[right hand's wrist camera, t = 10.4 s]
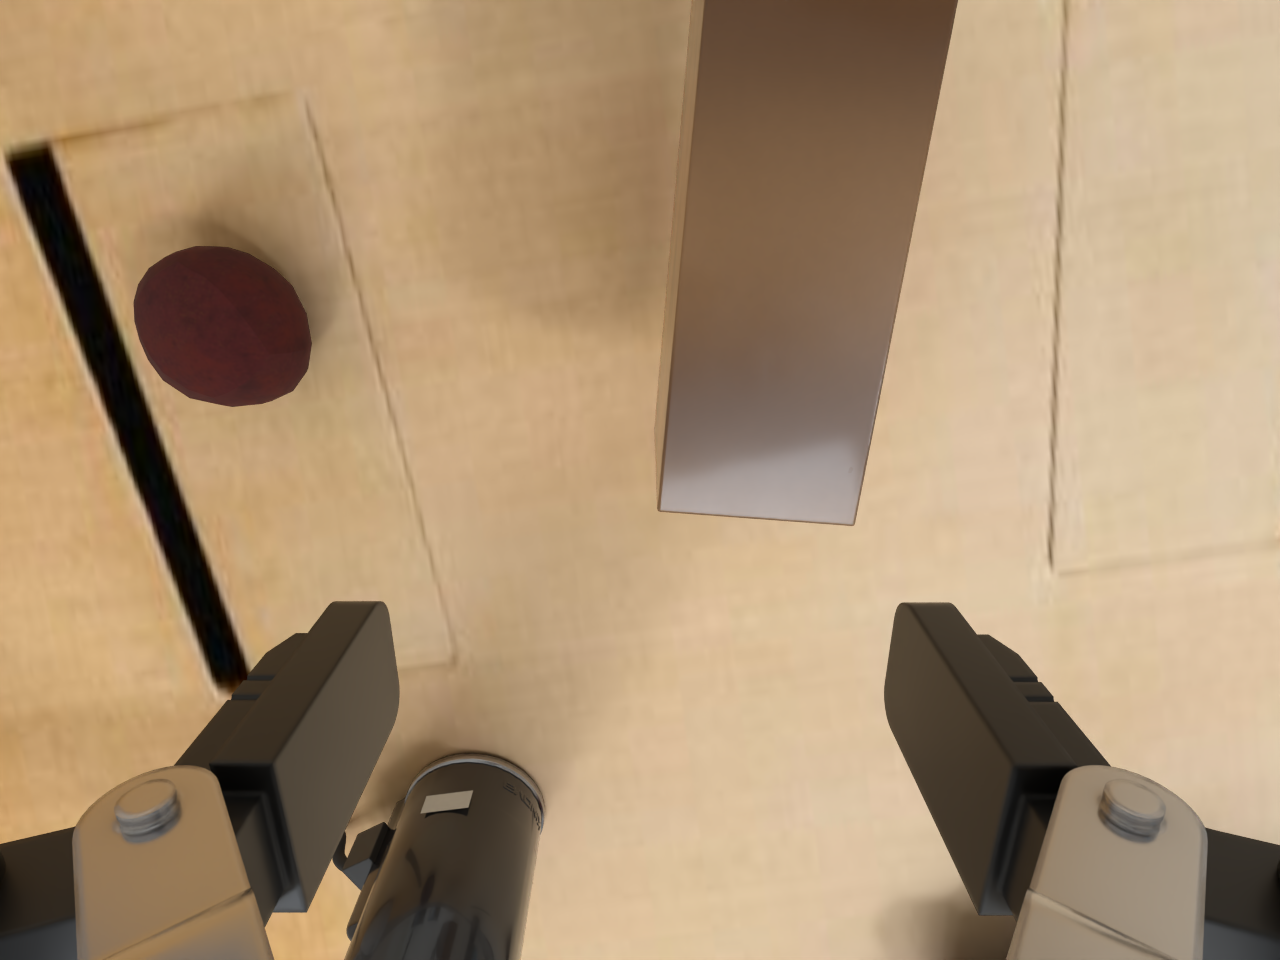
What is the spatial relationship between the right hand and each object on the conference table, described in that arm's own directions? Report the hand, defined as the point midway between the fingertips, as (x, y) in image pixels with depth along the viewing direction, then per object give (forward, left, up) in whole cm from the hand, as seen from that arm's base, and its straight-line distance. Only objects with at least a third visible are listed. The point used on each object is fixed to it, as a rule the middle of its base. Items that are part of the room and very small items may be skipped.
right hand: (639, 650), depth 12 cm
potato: (-17, +11, -29) cm, 35 cm away
